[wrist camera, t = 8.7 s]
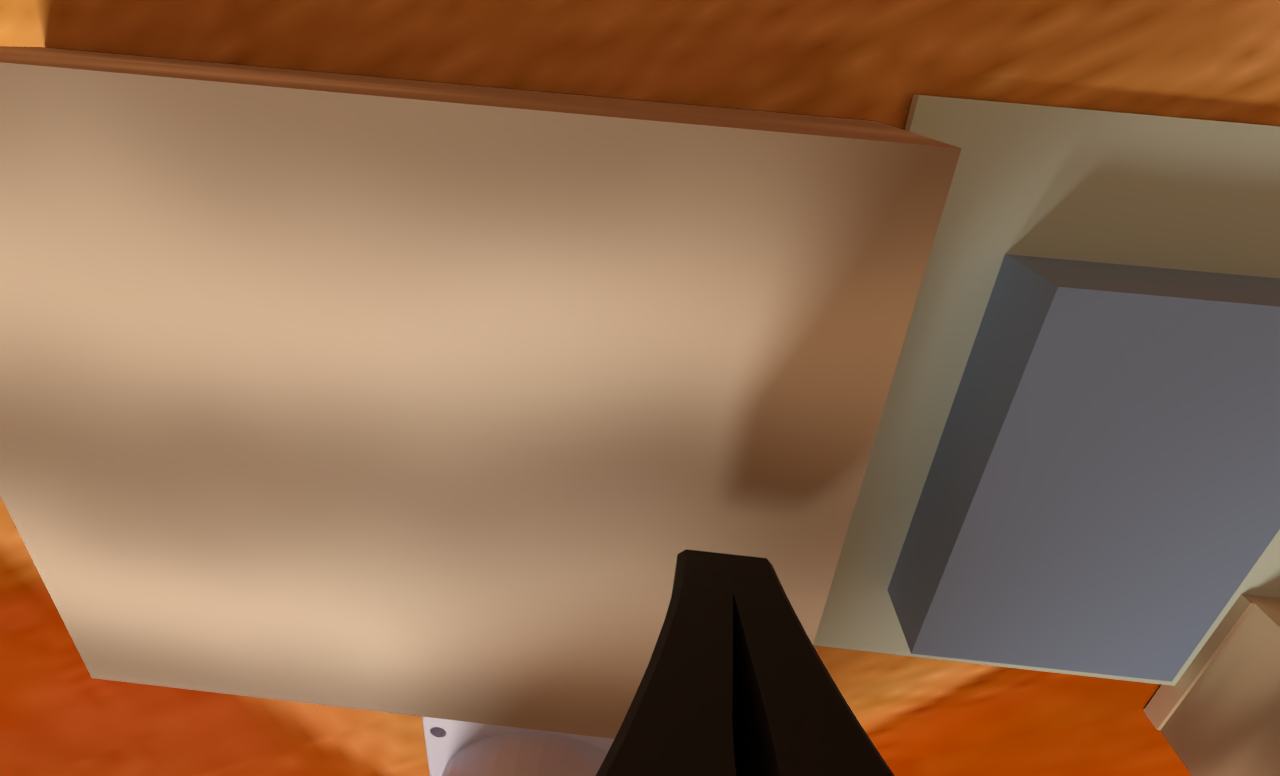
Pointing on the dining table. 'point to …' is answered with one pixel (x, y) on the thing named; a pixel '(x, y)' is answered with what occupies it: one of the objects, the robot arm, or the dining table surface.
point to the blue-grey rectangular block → (1098, 470)
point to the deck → (431, 371)
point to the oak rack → (1228, 697)
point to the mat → (1050, 228)
